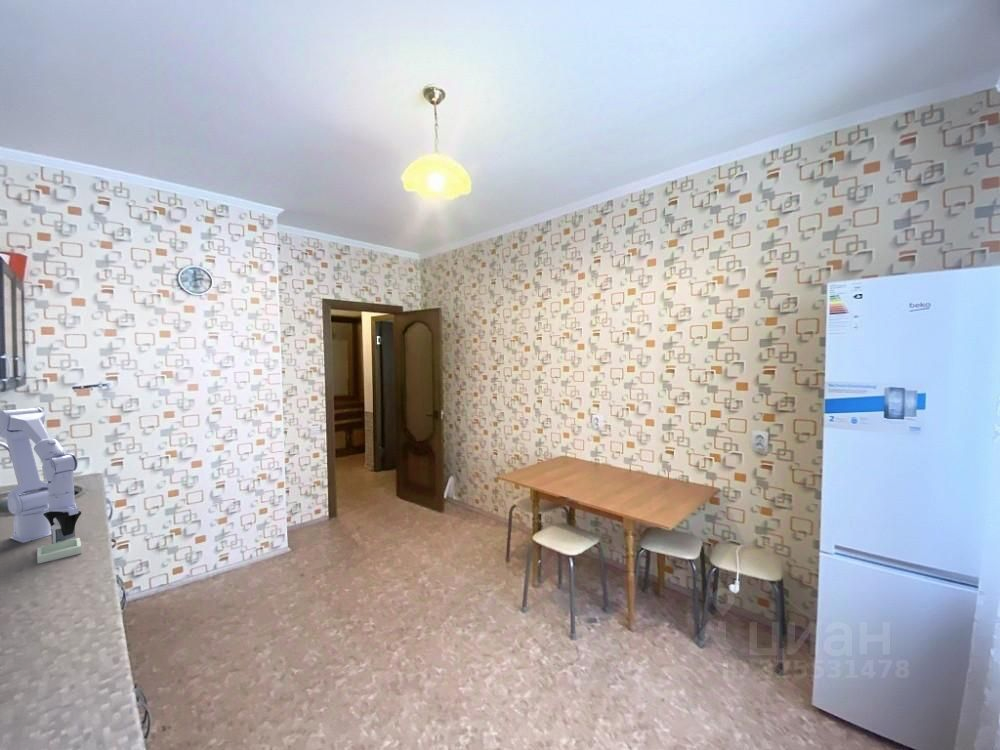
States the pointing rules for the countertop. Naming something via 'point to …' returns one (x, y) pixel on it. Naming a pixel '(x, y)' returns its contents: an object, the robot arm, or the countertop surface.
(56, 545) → the tray
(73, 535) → the pill bottle
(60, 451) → the robot arm
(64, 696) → the countertop surface
